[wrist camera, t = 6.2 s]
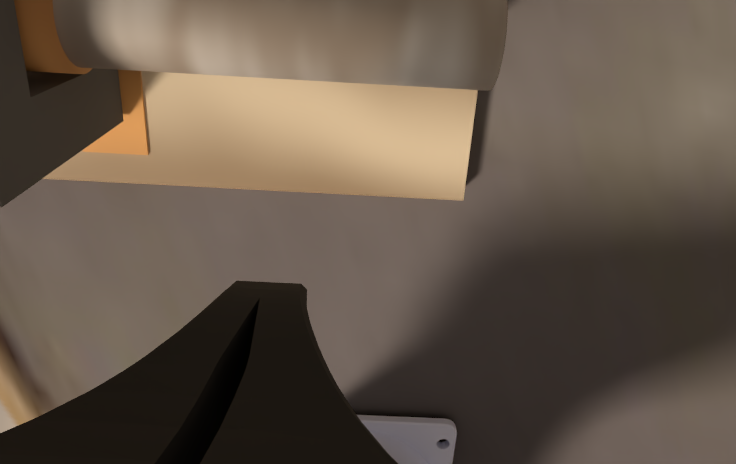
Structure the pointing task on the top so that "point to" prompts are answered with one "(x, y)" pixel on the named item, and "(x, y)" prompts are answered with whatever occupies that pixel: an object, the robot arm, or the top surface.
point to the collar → (46, 112)
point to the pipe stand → (278, 90)
